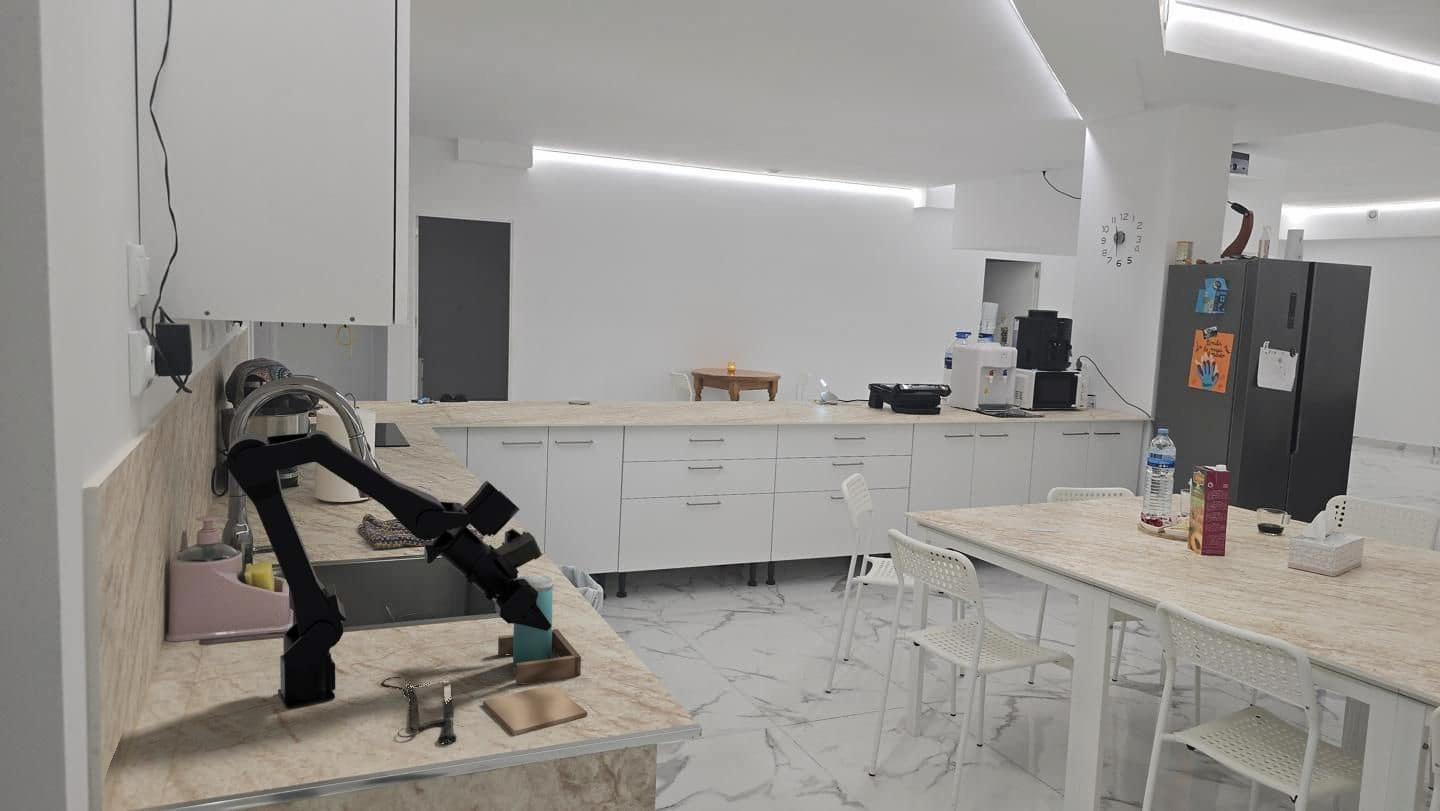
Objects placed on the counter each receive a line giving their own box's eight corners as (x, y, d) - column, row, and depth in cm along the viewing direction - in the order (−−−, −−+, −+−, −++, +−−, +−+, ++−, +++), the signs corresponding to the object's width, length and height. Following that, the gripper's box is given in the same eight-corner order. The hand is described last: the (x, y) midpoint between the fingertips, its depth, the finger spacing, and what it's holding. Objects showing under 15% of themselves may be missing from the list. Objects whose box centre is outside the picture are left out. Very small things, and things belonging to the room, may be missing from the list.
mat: (514, 735, 123) (514, 730, 123) (483, 704, 132) (483, 700, 132) (587, 715, 130) (587, 711, 130) (552, 687, 138) (552, 684, 138)
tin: (522, 676, 142) (523, 589, 141) (506, 662, 147) (507, 578, 146) (558, 668, 146) (560, 583, 144) (541, 655, 151) (543, 572, 149)
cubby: (517, 684, 139) (517, 665, 139) (498, 654, 151) (498, 636, 150) (580, 675, 143) (581, 656, 143) (557, 646, 155) (557, 628, 155)
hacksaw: (456, 747, 120) (456, 737, 120) (373, 757, 117) (372, 745, 117) (451, 674, 143) (451, 665, 142) (381, 680, 139) (381, 671, 139)
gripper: (524, 533, 134) (595, 598, 140) (496, 505, 150) (560, 564, 157) (469, 591, 131) (543, 654, 137) (446, 556, 148) (513, 614, 154)
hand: (541, 618), depth 146 cm, fingers open, 9 cm apart
